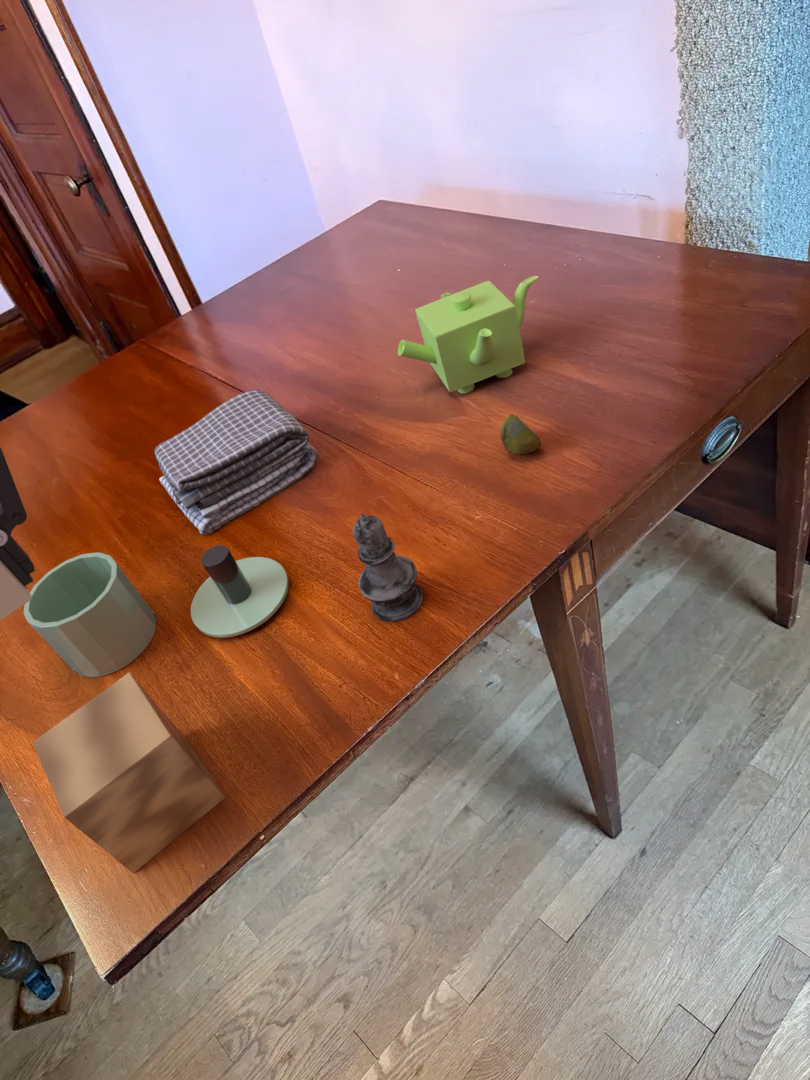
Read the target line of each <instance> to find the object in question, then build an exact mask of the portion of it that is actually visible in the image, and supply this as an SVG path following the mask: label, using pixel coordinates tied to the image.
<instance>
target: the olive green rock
mask: <svg viewBox="0 0 810 1080" xmlns="http://www.w3.org/2000/svg"><path fill="white" fill-rule="evenodd" d="M499 431H500V432H499V433H500V434H499V435H500V440H501V442H502V444H503V446H504V447H505V449H506V450H507V451H508V452H510V453H512V454H514V455H527V454H532V453H533V452H536V451H537V450H539V449H540V448H541V446H542V445H543V443H542V441H541V439H540V437H539V436H538V435H537V434H536V433H535V432H534V431H533V430H532V429H531V428H530V427H529V426H528V425H527V424H525V422H524V421H523V420H522V419H520V418H519V417H518V416H517V415H514V414H512V413H511V414H510V415H508V416H507V417H506V418H505V419H504V420H503V422H502V424H501V427H500V430H499Z"/></svg>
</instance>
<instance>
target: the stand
mask: <svg viewBox="0 0 810 1080" xmlns="http://www.w3.org/2000/svg"><path fill="white" fill-rule="evenodd" d="M31 744H32V746H33V748H34V750H35V753H36V756H37V758H38V759H39V762H40V764H41V767H42V768H43V771H44V774H45V776H46V778H47V780H48V782H49V784H50V787H51V789H52V792H53V795H54V797H55V799H56V801H57V803H58V806H59V808H60V811H61V813H62V815H63V817H64V819H66V820H67V821H68V822H69V823H71V824H72V825H73V826H75V828H77V829H78V830H79V831H81V832H82V833H83V834H84V835H85V836H87V837H88V838H89V839H91V840H92V841H93V842H94V843H96V844H97V846H99V847H100V848H102V849H103V850H104V851H105V852H107V854H109V855H110V856H111V857H113V858H114V859H115V860H116V861H117V862H119V863H120V864H121V865H122V866H124V867H125V868H126V869H127V870H128V871H130V872H131V873H132V874H135V873H136V872H137V871H138V870H140V868H142V867H143V866H144V865H146V864H147V863H148V862H149V861H151V860H152V859H153V858H154V857H155V856H156V855H158V854H159V853H160V852H161V851H162V850H164V849H165V848H166V847H168V846H169V845H170V844H171V843H172V842H173V841H175V840H176V839H177V838H178V837H179V836H181V835H182V834H184V833H185V832H186V831H187V830H188V829H189V828H191V827H192V826H193V825H194V824H195V823H197V822H198V821H199V820H201V819H202V818H203V817H204V816H205V815H206V814H208V813H209V812H211V810H212V809H214V808H215V807H216V806H217V805H219V804H220V803H221V802H222V801H224V800H225V799H226V796H225V794H224V793H223V792H222V791H221V789H220V788H219V787H220V786H218V785H217V783H216V781H215V780H214V779H213V777H212V775H211V774H210V773H209V771H208V770H207V768H206V766H205V765H204V763H203V762H202V760H201V759H200V757H199V756H198V754H197V753H196V752H195V750H194V748H193V747H192V746H191V743H189V741H188V740H187V738H186V737H185V735H184V734H183V732H181V730H180V729H179V728H178V727H177V726H176V724H175V723H174V722H173V721H172V719H170V717H169V716H168V715H167V714H166V713H165V712H164V710H163V709H162V708H161V706H159V705H158V704H157V702H156V701H155V700H154V699H153V698H152V696H150V694H149V693H148V692H147V691H146V690H145V689H144V687H143V686H142V685H141V684H140V682H139V681H138V680H137V679H136V678H135V677H134V675H132V673H131V672H127V673H126V674H125V675H123V676H122V677H120V678H119V679H117V680H116V681H115V682H113V683H112V684H111V685H109V686H108V687H107V688H105V689H104V690H102V691H101V692H99V693H98V694H97V695H95V696H94V697H92V698H91V699H90V700H88V701H87V702H86V703H84V704H83V705H81V706H80V707H79V708H78V709H75V710H74V711H73V712H72V713H71V714H69V715H68V716H66V717H65V718H63V719H62V720H61V721H60V722H58V723H57V724H55V725H54V726H52V727H51V728H50V729H49V730H47V731H46V732H44V733H43V734H42V735H40V736H39V737H37V738H36V739H35V740H33V741H32V743H31Z"/></svg>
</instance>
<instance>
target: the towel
mask: <svg viewBox="0 0 810 1080" xmlns="http://www.w3.org/2000/svg"><path fill="white" fill-rule="evenodd" d="M154 457H155V460H156V461H157V464H158V466H159V469H160V471H161V472H162V474H163V475H162V476H161V477H159V482H160V484H161V485H162V487H164V489H165V490H166V492H167V493H168V495H169V496H170V497H171V499H172V500H173V501H174V503H175V504H176V505H177V507H178V508H179V509H180V510H181V512H182V513H183V514H184V516H185V517H186V518H187V519H188V520H189V521H190V522H191V524H193V526H194V527H195V528H196V529H197V530H198V532H199V533H200V535H203V536H207V535H212V534H213V532H214V531H217V530H219V529H221V527H222V526H223V525H225V524H227V523H229V522H230V521H233V520H234V519H236V518H238V517H239V516H241V515H243V514H245V513H246V512H248V511H250V510H252V509H253V508H254V507H257V506H259V505H260V504H261V503H263V502H266V500H268V499H269V498H272V497H274V496H275V494H278V493H281V492H282V491H283V490H285V489H286V488H288V487H289V486H290V485H292V484H294V483H295V482H296V481H299V480H300V479H302V478H303V477H304V475H306V473H308V472H309V471H310V470H311V469H313V468H314V467H315V465H316V461H317V459H318V452H317V450H316V449H315V448H314V447H313V446H312V444H311V443H310V435H309V433H308V430H306V427H304V425H302V423H301V422H300V421H299V420H298V419H297V418H296V417H295V416H293V415H292V414H291V413H289V412H288V411H287V410H285V409H284V408H283V406H282V405H280V403H279V402H278V401H277V400H275V398H273V397H272V396H271V395H270V394H269V393H267V392H266V391H264V390H260V389H253V390H248V391H246V392H241V393H238V394H236V395H234V396H233V397H231V398H230V399H227V400H226V401H224V402H223V403H221V404H219V405H217V406H216V407H215V408H213V409H212V410H211V411H209V412H208V413H206V414H205V415H204V416H203V417H202V418H200V419H199V420H197V421H196V423H193V424H192V425H190V426H188V427H187V428H185V429H182V431H181V432H178V433H176V434H175V435H174V436H172V437H169V438H168V439H167V440H164V441H162V442H160V443H159V444H158V445H156V446H155V448H154Z"/></svg>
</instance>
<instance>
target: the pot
mask: <svg viewBox="0 0 810 1080" xmlns="http://www.w3.org/2000/svg"><path fill="white" fill-rule="evenodd" d="M29 593H30V595H31V597H32V599H31V600H30V601H28V602H27V603H25V604H24V605H23V606H24V607H23V615H24V616H23V617H25V620H26V622H27V623H28V625H30V626H31V628H32V629H33V630H34V631H35V632H36V633H37V634H38V635H39V636H40V637H41V638H42V639H43V640H44V642H45V643H46V644H48V645H49V647H50V648H51V649H52V650H53V651H54V652H55V653H56V654H57V655H58V657H60V658H61V659H62V660H63V662H64V663H65V664H66V665H67V666H68V667H69V668H70V669H71V670H72V671H74V672H75V673H76V674H78V675H80V676H82V677H86V678H99V677H105V676H108V675H111V674H114V673H115V672H118V671H120V670H121V669H123V668H125V667H126V666H128V665H130V664H131V663H132V662H134V661H135V660H136V659H137V658H138V657H139V656H140V655H141V654H142V653H143V652H144V651H145V650H146V649H147V647H148V646H149V644H150V643H151V641H152V639H153V637H154V635H155V632H156V629H157V617H156V614H155V612H154V611H153V610H152V608H151V607H150V606H149V604H148V603H147V601H146V600H145V599H144V598H143V596H142V595H141V594H140V592H139V591H138V590H137V588H136V587H135V585H134V584H133V583H132V582H131V580H130V579H129V577H128V576H127V575H126V574H125V572H124V571H123V570H122V568H121V567H120V565H118V563H117V562H116V560H115V559H114V558H113V557H112V555H110V554H106V553H103V552H100V551H99V552H88V553H81V554H79V555H77V556H74V557H72V558H68V559H67V560H65V561H63V562H61V563H60V564H58V565H57V566H55V567H53V568H52V569H51V570H50V569H49V571H47V572H46V573H45V574H44V575H43V576H42V577H41V578H40V579H39V580H38V581H37V582H36V583H35V584H34V585H33V587H32V588H31V590H30V592H29Z"/></svg>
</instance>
